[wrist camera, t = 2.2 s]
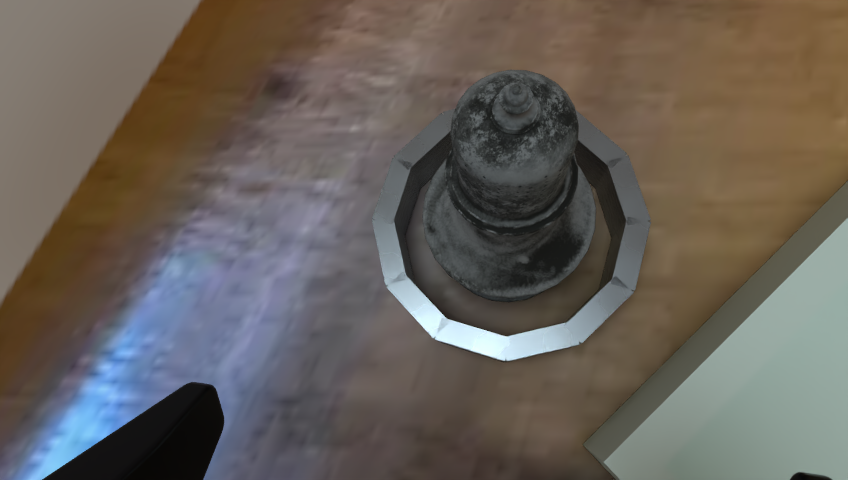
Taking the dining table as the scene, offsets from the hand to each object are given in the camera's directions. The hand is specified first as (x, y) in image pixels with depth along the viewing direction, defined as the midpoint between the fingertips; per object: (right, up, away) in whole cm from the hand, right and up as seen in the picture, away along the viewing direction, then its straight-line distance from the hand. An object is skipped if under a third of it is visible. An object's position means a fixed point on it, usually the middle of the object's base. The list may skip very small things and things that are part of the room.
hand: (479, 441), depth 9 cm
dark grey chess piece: (+2, +3, +14) cm, 14 cm away
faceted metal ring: (+2, +3, +13) cm, 14 cm away
